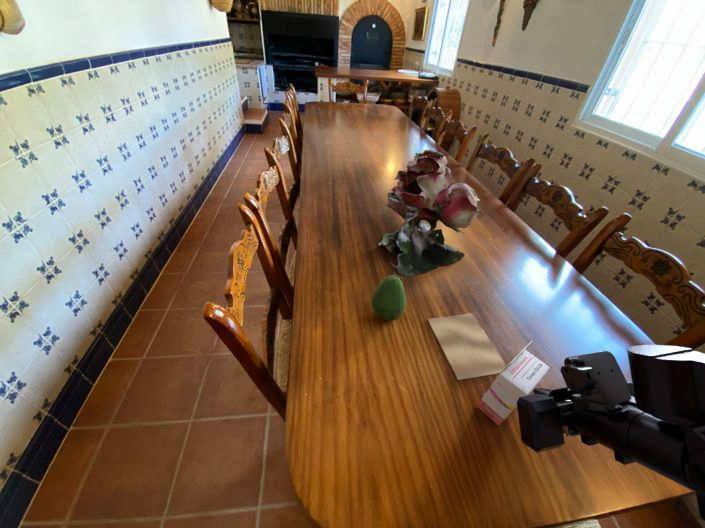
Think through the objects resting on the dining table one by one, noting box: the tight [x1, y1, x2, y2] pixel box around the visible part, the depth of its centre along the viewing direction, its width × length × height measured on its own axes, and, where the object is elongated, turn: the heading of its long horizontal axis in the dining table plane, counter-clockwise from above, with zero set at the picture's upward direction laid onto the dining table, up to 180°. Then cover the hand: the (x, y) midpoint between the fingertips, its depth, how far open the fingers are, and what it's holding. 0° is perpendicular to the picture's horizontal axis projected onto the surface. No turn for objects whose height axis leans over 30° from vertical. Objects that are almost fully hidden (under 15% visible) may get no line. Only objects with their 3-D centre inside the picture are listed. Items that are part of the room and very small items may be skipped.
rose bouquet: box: [377, 149, 484, 277], centre depth 87 cm, size 26×29×30 cm
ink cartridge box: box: [476, 340, 550, 427], centre depth 52 cm, size 9×5×15 cm, turn 130°
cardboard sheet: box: [426, 313, 507, 382], centre depth 67 cm, size 16×12×1 cm
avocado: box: [371, 274, 407, 322], centre depth 69 cm, size 8×8×12 cm
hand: (535, 391), depth 48 cm, fingers closed
